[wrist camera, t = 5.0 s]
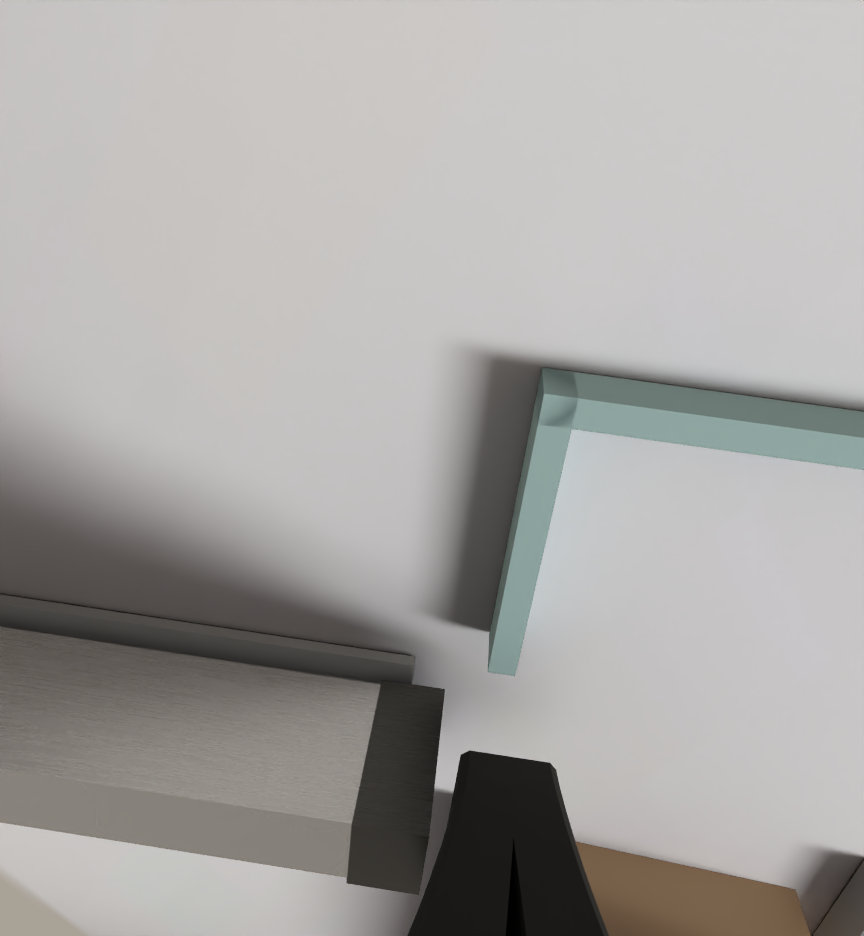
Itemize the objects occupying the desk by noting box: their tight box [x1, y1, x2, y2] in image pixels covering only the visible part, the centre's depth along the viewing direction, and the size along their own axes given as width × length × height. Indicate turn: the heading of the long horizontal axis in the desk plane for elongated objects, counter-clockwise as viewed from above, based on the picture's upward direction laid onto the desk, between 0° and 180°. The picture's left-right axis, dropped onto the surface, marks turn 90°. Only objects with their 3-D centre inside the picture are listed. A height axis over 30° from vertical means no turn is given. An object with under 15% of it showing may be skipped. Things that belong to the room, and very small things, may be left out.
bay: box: [488, 368, 864, 676], centre depth 10 cm, size 4×8×1 cm, turn 84°
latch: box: [0, 627, 445, 895], centre depth 11 cm, size 1×9×2 cm, turn 84°
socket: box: [0, 594, 864, 936], centre depth 14 cm, size 11×18×1 cm, turn 84°
